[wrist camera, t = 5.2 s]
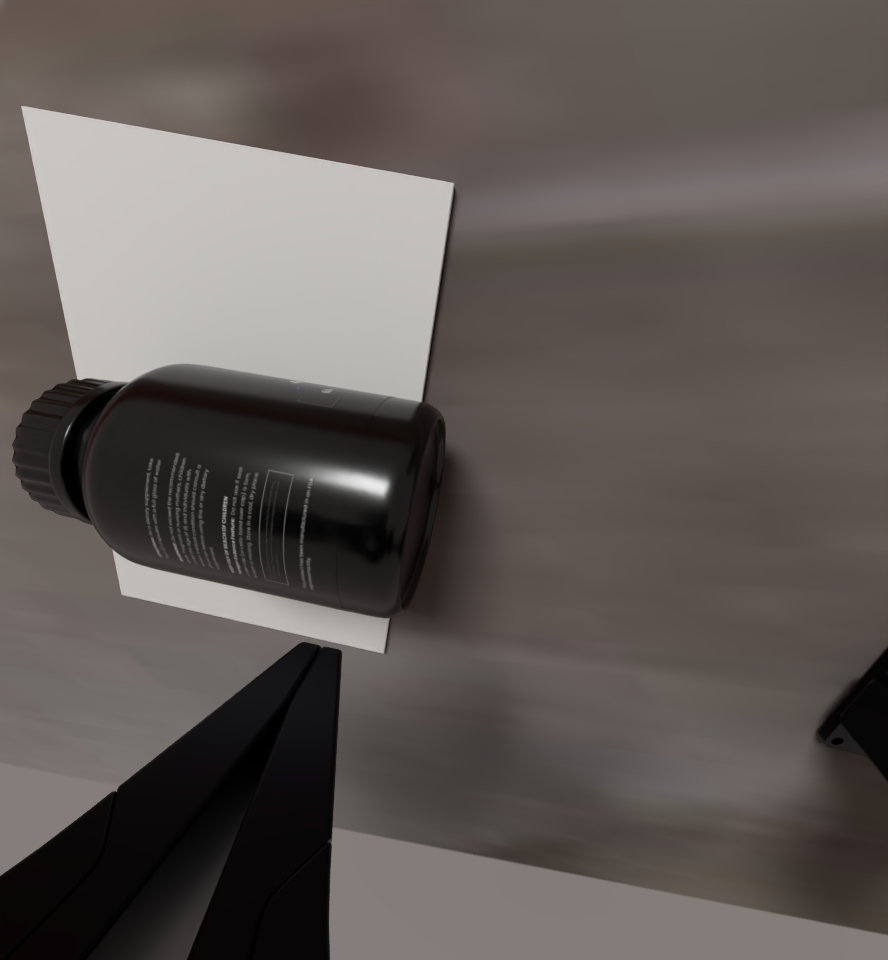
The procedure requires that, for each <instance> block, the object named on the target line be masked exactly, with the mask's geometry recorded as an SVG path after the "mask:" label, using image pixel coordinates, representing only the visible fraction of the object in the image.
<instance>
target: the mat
mask: <svg viewBox="0 0 888 960" xmlns="http://www.w3.org/2000/svg"><path fill="white" fill-rule="evenodd" d="M22 111H23V116H24V121H25V126H26V131H27V135H28V140H29V145H30V150H31V155H32V160H33V165H34V170H35V174H36V179H37V184H38V189H39V194H40V199H41V204H42V209H43V213H44V218H45V223H46V228H47V233H48V238H49V243H50V247H51V252H52V257H53V262H54V267H55V272H56V277H57V282H58V286H59V291H60V296H61V301H62V306H63V311H64V316H65V321H66V325H67V330H68V335H69V340H70V345H71V350H72V355H73V359H74V364H75V369H76V374H77V379H78V380H82V379H85V378H94V379H99V380H110V381H116V382H131V381H132V380H133V379H135V378H137V377H139V376H140V375H142V374H144V373H146V372H149V371H151V370H154V369H156V368H160V367H163V366H167V365H173V364H196V365H205V366H212V367H218V368H224V369H230V370H236V371H242V372H248V373H254V374H260V375H266V376H272V377H278V378H284V379H290V380H296V381H302V382H308V383H314V384H320V385H326V386H332V387H338V388H344V389H350V390H356V391H362V392H368V393H374V394H380V395H386V396H392V397H396V398H402V399H408V400H413V401H419V402H422V400H423V394H424V387H425V380H426V374H427V367H428V360H429V354H430V347H431V340H432V334H433V327H434V320H435V314H436V307H437V300H438V294H439V287H440V280H441V274H442V267H443V260H444V254H445V247H446V240H447V234H448V227H449V220H450V214H451V207H452V201H453V194H454V187H455V185H454V183H450V182H445V181H439V180H434V179H428V178H422V177H417V176H411V175H406V174H400V173H394V172H389V171H383V170H378V169H372V168H366V167H361V166H355V165H350V164H344V163H338V162H333V161H327V160H322V159H316V158H310V157H305V156H299V155H294V154H288V153H282V152H277V151H271V150H266V149H260V148H254V147H249V146H243V145H238V144H232V143H227V142H221V141H215V140H210V139H204V138H199V137H193V136H187V135H182V134H176V133H171V132H165V131H159V130H154V129H148V128H143V127H137V126H131V125H126V124H120V123H115V122H109V121H103V120H98V119H92V118H87V117H81V116H75V115H70V114H64V113H59V112H53V111H47V110H42V109H36V108H31V107H25V106H22ZM113 554H114V559H115V564H116V569H117V574H118V579H119V583H120V588H121V593H122V595H126V596H130V597H134V598H139V599H143V600H148V601H152V602H157V603H161V604H166V605H170V606H174V607H179V608H183V609H188V610H192V611H197V612H201V613H206V614H210V615H214V616H219V617H223V618H228V619H232V620H237V621H241V622H246V623H250V624H254V625H259V626H263V627H268V628H272V629H277V630H281V631H286V632H290V633H294V634H299V635H303V636H308V637H312V638H317V639H321V640H326V641H330V642H334V643H339V644H343V645H348V646H352V647H357V648H361V649H366V650H370V651H374V652H379V653H383V654H384V651H385V646H386V640H387V633H388V626H389V620H390V618H387V619H384V618H376V617H371V616H366V615H362V614H357V613H352V612H346V611H342V610H337V609H333V608H328V607H324V606H319V605H314V604H310V603H305V602H301V601H296V600H292V599H287V598H283V597H278V596H274V595H269V594H265V593H260V592H255V591H251V590H246V589H242V588H237V587H233V586H228V585H224V584H219V583H215V582H210V581H206V580H201V579H196V578H192V577H187V576H183V575H178V574H174V573H169V572H165V571H160V570H156V569H152V568H149V567H145V566H142V565H139V564H135V563H133V562H131V561H129V560H127V559H125V558H124V557H122V556H120V555H119V554H118V553H116V552H115V551H114V550H113Z"/></svg>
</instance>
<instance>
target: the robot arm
mask: <svg viewBox="0 0 888 960" xmlns="http://www.w3.org/2000/svg"><path fill="white" fill-rule="evenodd" d="M341 663H342V652H341V650H338V649H334V648H329V647H323V648H321V646H319V645H316V644H311V643H307V642H302V643H300V644H298V645H297V646H296V647H294V648H293V649H292V650H290V651H289V652H288V653H287V654H285V655H284V656H283V657H282V658H280V659H279V660H278V661H277V662H275V663H274V664H273V665H272V666H270V667H269V668H268V669H267V670H265V671H264V672H263V673H261V674H260V675H259V676H258V677H256V678H255V679H254V680H253V681H251V682H250V683H249V684H248V685H246V686H245V687H244V688H243V689H241V690H240V691H239V692H238V693H236V694H235V695H234V696H232V697H231V698H230V699H229V700H227V701H226V702H225V703H224V704H222V705H221V706H220V707H219V708H217V709H216V710H215V711H214V712H212V713H211V714H210V715H209V716H207V717H206V718H205V719H204V720H202V721H201V722H200V723H198V724H197V725H196V726H195V727H193V728H192V729H191V730H190V731H188V732H187V733H186V734H185V735H183V736H182V737H181V738H180V739H178V740H177V741H176V742H175V743H173V744H172V745H171V746H169V747H168V748H167V749H166V750H164V751H163V752H162V753H161V754H159V755H158V756H157V757H156V758H154V759H153V760H152V761H151V762H149V763H148V764H147V765H146V766H144V767H143V768H142V769H140V770H139V771H138V772H137V773H135V774H134V775H133V776H132V777H130V778H129V779H128V780H127V781H125V782H124V783H123V784H122V785H120V786H119V787H118V789H117V792H116V791H113V792H111V793H110V794H109V795H107V796H106V797H105V798H104V799H102V800H101V801H100V802H99V803H97V804H96V805H95V806H94V807H92V808H91V809H90V810H88V811H87V812H86V813H85V814H83V815H82V816H81V817H79V818H78V819H77V820H76V821H74V822H73V823H72V824H70V825H69V826H68V827H66V828H65V829H64V830H62V831H61V832H60V833H59V834H57V835H56V836H55V837H54V838H52V839H51V840H49V841H48V842H47V843H45V844H44V845H43V846H42V847H40V848H39V849H37V850H36V851H35V852H33V853H32V854H30V855H29V856H28V857H26V858H25V859H23V860H22V861H21V862H19V863H18V864H16V865H15V866H14V867H12V868H11V869H9V870H8V871H7V872H5V873H4V874H2V875H1V876H0V960H330V949H329V948H330V944H329V898H330V895H329V894H330V867H331V849H332V845H331V841H332V827H333V808H334V790H335V772H336V754H337V736H338V718H339V699H340V681H341ZM819 735H820V737H821V739H822V740H823V741H824V743H825V744H826V745H827V746H828V747H830V748H834V749H838V750H843V751H847V752H852V753H856V754H861V755H865V756H867V757H868V758H869V760H870V761H871V762H872V763H873V765H874V766H875V767H876V768H877V770H878V771H879V772H880V773H881V775H882V776H883V777H884V778H885V780H886V781H887V782H888V653H887V655H886V656H885V657H884V658H883V659H882V660H881V661H880V663H879V664H878V665H877V666H876V667H875V668H874V670H873V671H872V672H871V673H870V674H869V675H868V677H867V678H866V679H865V680H864V681H863V682H862V683H861V685H860V686H859V687H858V688H857V689H856V690H855V692H854V693H853V694H852V695H851V696H850V697H849V698H848V700H847V701H846V702H845V703H844V704H843V705H842V707H841V708H840V709H839V710H838V711H837V712H836V714H835V715H834V716H833V717H832V718H831V719H830V720H829V722H828V723H827V724H826V725H825V726H824V727H823V729H822V730H821V731H820V733H819Z"/></svg>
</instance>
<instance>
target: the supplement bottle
mask: <svg viewBox="0 0 888 960" xmlns="http://www.w3.org/2000/svg"><path fill="white" fill-rule="evenodd" d="M445 438H446V431H445V421H444V418H443V416H442V414H441V413H440V412H439V411H438V410H437V409H436V408H435V407H433V406H432V405H430V404H427V403H423V402H419V401H413V400H408V399H402V398H396V397H392V396H386V395H380V394H374V393H368V392H362V391H356V390H350V389H344V388H338V387H332V386H326V385H320V384H314V383H308V382H302V381H296V380H290V379H284V378H278V377H272V376H266V375H260V374H254V373H248V372H242V371H236V370H230V369H224V368H218V367H212V366H205V365H196V364H173V365H167V366H163V367H160V368H156V369H154V370H151V371H149V372H146V373H144V374H142V375H140V376H139V377H137V378H135V379H133V380H132V381H131V382H116V381H110V380H99V379H94V378H85V379H82V380H77V379H72V380H70V381H69V382H67V383H66V384H63V383H62V384H57V385H56V386H55V387H54V388H53V389H51V390H47V391H44V393H43V394H42V396H41V397H40V398H39V399H36V400H34V401H33V402H32V404H31V407H30V409H29V410H27V411H26V412H25V413H24V414H23V416H22V422H21V423H20V424H19V425H18V427H17V428H16V438H15V440H14V442H13V444H12V446H13V449H14V455H13V459H12V461H13V463H14V464H15V466H16V476H17V477H18V478H19V479H20V480H21V485H22V488H23V489H24V490H25V491H27V492H29V495H30V497H31V499H32V500H34V501H37V502H39V503H40V505H41V506H42V507H43V508H44V509H47V510H51V511H53V512H55V513H57V514H59V515H62V516H67V517H71V518H76V519H78V520H80V521H82V522H84V523H87V524H91V525H93V526H94V528H95V529H96V531H97V532H98V534H99V535H100V536H101V538H102V539H103V540H104V541H105V542H106V543H107V544H108V546H109V547H111V548H112V549H113V550H114V551H115V552H116V553H118V554H119V555H120V556H122V557H124V558H125V559H127V560H129V561H131V562H133V563H135V564H139V565H142V566H145V567H149V568H152V569H156V570H160V571H165V572H169V573H174V574H178V575H183V576H187V577H192V578H196V579H201V580H206V581H210V582H215V583H219V584H224V585H228V586H233V587H237V588H242V589H246V590H251V591H255V592H260V593H265V594H269V595H274V596H278V597H283V598H287V599H292V600H296V601H301V602H305V603H310V604H314V605H319V606H324V607H328V608H333V609H337V610H342V611H346V612H352V613H357V614H362V615H366V616H371V617H376V618H384V619H387V618H393V617H397V616H399V615H401V614H402V613H404V612H405V611H406V610H407V608H408V607H409V605H410V604H411V602H412V599H413V597H414V595H415V592H416V589H417V586H418V583H419V580H420V577H421V574H422V570H423V567H424V563H425V559H426V555H427V551H428V547H429V543H430V539H431V534H432V530H433V525H434V520H435V515H436V510H437V504H438V499H439V493H440V486H441V479H442V472H443V464H444V454H445Z"/></svg>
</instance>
